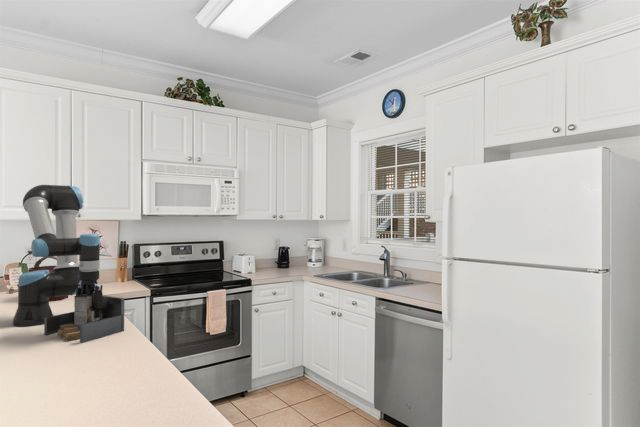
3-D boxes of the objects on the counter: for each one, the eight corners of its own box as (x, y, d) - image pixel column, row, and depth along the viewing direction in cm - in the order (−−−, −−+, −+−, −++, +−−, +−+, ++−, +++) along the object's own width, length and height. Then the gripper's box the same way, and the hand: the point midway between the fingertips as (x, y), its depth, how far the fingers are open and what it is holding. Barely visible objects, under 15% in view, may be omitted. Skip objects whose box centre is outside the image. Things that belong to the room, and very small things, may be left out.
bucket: (80, 298, 242) (80, 256, 242) (38, 305, 223) (39, 259, 223) (59, 294, 255) (59, 254, 255) (18, 300, 236) (19, 257, 236)
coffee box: (90, 328, 178) (90, 291, 178) (103, 329, 177) (103, 292, 177) (73, 334, 169) (74, 295, 169) (86, 335, 168) (87, 296, 168)
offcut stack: (57, 336, 167) (57, 325, 167) (72, 333, 171) (72, 322, 171) (66, 342, 159) (66, 331, 159) (82, 339, 163) (82, 328, 163)
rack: (44, 334, 168) (44, 300, 168) (87, 324, 185) (87, 293, 185) (82, 342, 158) (82, 306, 158) (124, 330, 175) (124, 298, 175)
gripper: (65, 270, 174) (64, 323, 174) (97, 273, 165) (96, 329, 165) (82, 268, 181) (81, 319, 180) (113, 270, 172) (112, 325, 172)
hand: (88, 324), depth 173 cm, fingers closed on coffee box, 7 cm apart
